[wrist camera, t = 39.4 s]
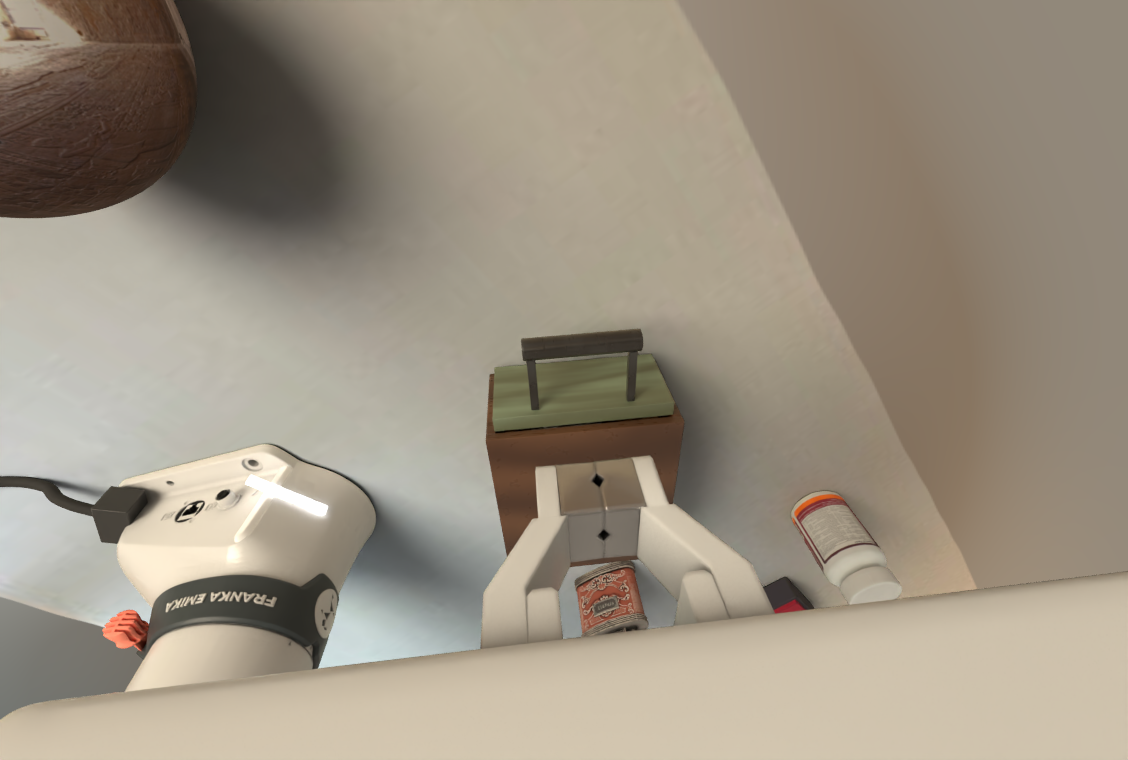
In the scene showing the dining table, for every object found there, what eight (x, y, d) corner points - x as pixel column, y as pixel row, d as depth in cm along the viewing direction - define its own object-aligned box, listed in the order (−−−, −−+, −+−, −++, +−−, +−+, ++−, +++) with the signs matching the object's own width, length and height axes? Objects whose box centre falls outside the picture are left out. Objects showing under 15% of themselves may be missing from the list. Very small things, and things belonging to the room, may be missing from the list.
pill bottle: (831, 521, 57) (893, 611, 48) (782, 525, 57) (836, 617, 47) (848, 486, 54) (919, 576, 44) (797, 490, 53) (857, 582, 44)
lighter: (627, 555, 57) (647, 639, 49) (638, 569, 59) (659, 652, 51) (569, 579, 59) (579, 664, 51) (581, 591, 61) (593, 675, 52)
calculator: (828, 630, 66) (735, 675, 69) (810, 602, 69) (723, 645, 73) (800, 601, 60) (701, 651, 64) (783, 571, 64) (689, 621, 67)
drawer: (484, 303, 35) (480, 350, 30) (656, 290, 36) (683, 332, 31) (513, 493, 48) (514, 550, 42) (641, 480, 48) (658, 534, 43)
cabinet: (489, 374, 40) (485, 440, 33) (655, 359, 41) (684, 421, 34) (509, 501, 49) (510, 573, 43) (644, 487, 50) (665, 556, 43)
